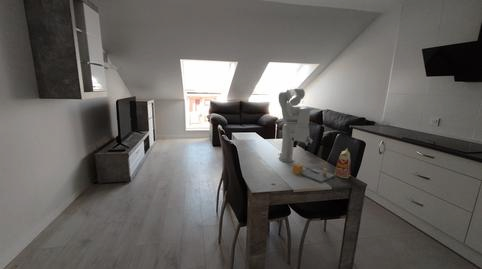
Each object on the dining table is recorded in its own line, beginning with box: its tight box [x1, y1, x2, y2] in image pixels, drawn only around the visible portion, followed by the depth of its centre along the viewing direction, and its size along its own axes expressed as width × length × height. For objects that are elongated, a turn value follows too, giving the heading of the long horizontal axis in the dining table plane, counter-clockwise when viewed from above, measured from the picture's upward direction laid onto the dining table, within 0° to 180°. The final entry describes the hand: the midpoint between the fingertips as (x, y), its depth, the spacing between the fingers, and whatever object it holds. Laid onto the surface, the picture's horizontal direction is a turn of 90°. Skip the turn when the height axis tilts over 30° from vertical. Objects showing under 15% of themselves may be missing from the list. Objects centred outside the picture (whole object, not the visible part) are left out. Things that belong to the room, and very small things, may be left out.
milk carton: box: [333, 148, 351, 179], centre depth 164 cm, size 9×9×20 cm
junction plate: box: [300, 167, 336, 184], centre depth 162 cm, size 16×18×6 cm
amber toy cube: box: [291, 163, 304, 175], centre depth 166 cm, size 5×5×6 cm
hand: (300, 148), depth 163 cm, fingers open, 9 cm apart
